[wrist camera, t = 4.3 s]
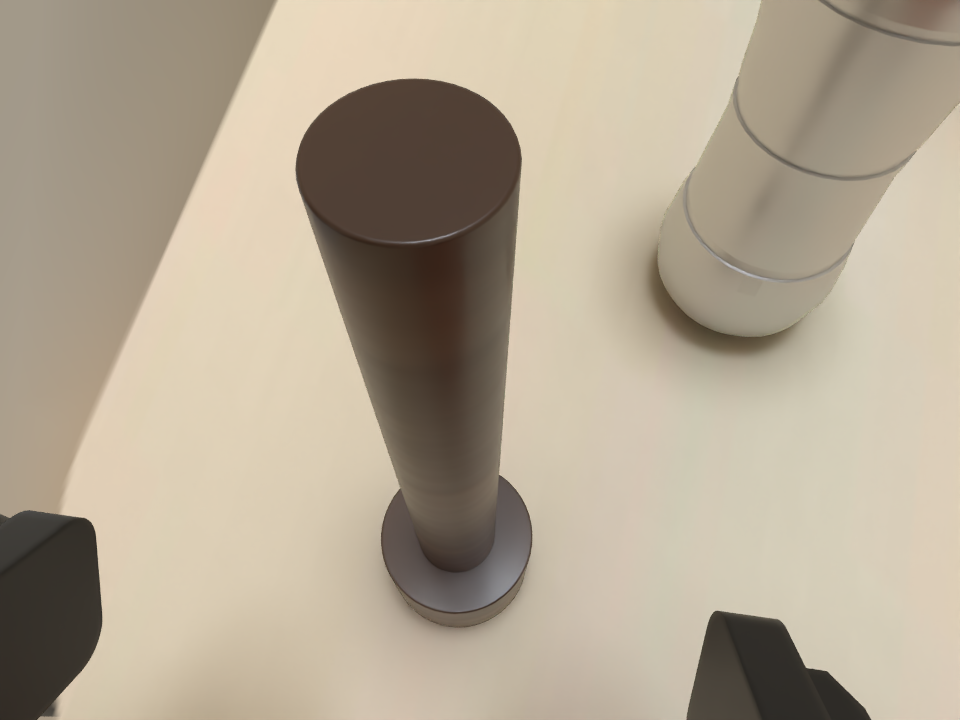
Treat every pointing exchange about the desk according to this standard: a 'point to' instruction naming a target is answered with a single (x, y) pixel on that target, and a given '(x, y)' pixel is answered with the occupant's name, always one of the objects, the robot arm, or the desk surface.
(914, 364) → the desk surface
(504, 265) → the dark brown pestle
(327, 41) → the desk surface
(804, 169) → the plastic bottle
